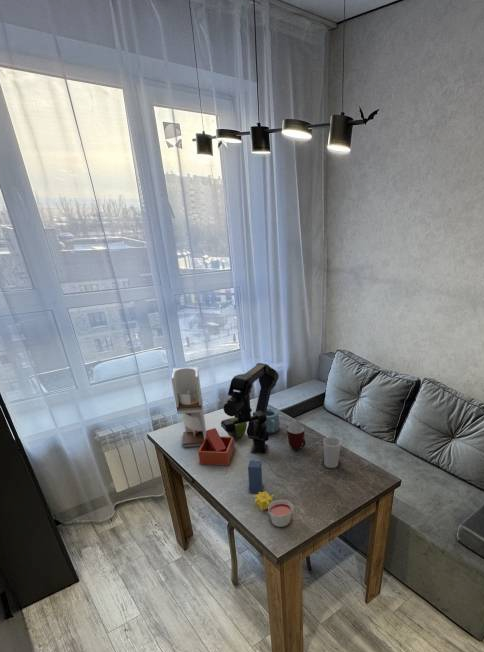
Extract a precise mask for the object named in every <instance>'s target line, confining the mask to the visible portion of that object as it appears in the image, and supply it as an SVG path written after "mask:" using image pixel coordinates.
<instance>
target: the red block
mask: <svg viewBox="0 0 484 652" xmlns="http://www.w3.org/2000/svg"><path fill="white" fill-rule="evenodd" d="M206 438H207V440H208V442H209V444H210V446H211V448H212V450H213V451H215V452H226V447H225V445H224V443H223V441H222V439H221V438H220V434H219V432H218V429H216V427H214V428H210V429H206Z"/></svg>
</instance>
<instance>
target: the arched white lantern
mask: <svg viewBox="0 0 484 652" xmlns="http://www.w3.org/2000/svg"><path fill="white" fill-rule="evenodd" d="M171 382H172V389H173V395H174V400H175V406H176V414H177V415H181V421H182V424H183V425H184V428H185V429H184V430H185V431H182V432H183V435H182V448H191V447H201V445H202V443H203V441H204V440H205V438H206V431H207V427H206V419H205V411H204V403H203V395H202V388H201V380H200V374H199V367H198V366H192V367H173V368H172V373H171Z"/></svg>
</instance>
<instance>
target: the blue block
mask: <svg viewBox="0 0 484 652" xmlns="http://www.w3.org/2000/svg"><path fill="white" fill-rule="evenodd" d="M262 469H263V468H262V460H249V462H248V465H247V474H248V489H249V493H252V494H253V493H255V494H258V492H261V493H262V489H263V474H262Z"/></svg>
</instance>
